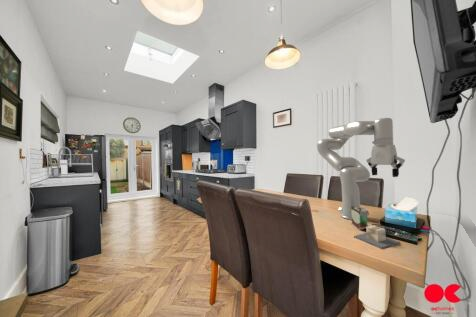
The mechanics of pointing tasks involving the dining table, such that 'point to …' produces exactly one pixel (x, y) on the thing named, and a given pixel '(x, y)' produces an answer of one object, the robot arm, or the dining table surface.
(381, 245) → the charcoal mat
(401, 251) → the dining table surface
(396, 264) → the dining table surface
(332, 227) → the dining table surface
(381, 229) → the birch cube
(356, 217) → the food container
